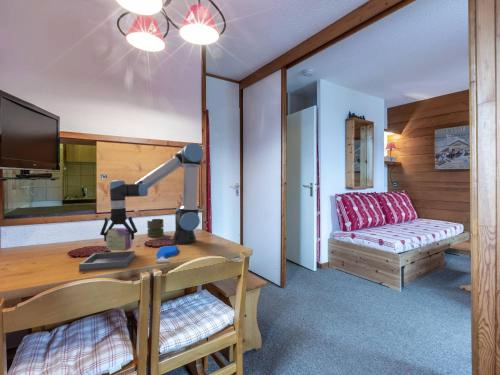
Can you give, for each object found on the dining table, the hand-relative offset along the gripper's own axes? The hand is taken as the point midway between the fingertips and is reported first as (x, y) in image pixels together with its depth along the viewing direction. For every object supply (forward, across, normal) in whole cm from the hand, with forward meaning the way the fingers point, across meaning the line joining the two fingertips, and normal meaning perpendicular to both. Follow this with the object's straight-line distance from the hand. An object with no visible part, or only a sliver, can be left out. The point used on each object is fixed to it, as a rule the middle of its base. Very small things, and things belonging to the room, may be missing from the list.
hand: (119, 246), depth 143 cm
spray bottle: (+5, +26, -10) cm, 28 cm away
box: (+2, 0, 0) cm, 2 cm away
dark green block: (+5, +12, +45) cm, 47 cm away
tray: (+4, -1, -16) cm, 17 cm away
